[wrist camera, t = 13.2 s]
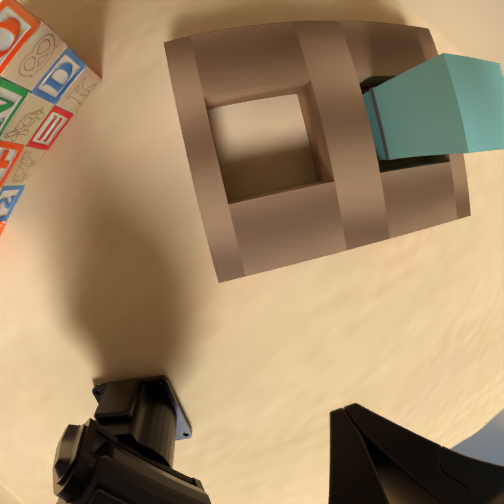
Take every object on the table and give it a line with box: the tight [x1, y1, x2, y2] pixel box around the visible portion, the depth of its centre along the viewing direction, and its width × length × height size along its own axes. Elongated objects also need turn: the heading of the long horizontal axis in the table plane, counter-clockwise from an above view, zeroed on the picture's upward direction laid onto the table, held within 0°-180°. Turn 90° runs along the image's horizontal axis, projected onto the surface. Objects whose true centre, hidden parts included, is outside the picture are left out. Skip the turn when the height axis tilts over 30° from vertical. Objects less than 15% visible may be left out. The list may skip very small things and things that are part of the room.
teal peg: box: [362, 53, 504, 160], centre depth 15 cm, size 4×4×10 cm
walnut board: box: [164, 21, 471, 283], centre depth 18 cm, size 14×18×3 cm
